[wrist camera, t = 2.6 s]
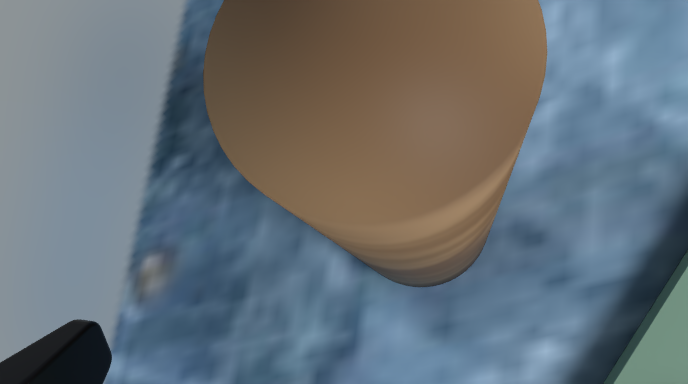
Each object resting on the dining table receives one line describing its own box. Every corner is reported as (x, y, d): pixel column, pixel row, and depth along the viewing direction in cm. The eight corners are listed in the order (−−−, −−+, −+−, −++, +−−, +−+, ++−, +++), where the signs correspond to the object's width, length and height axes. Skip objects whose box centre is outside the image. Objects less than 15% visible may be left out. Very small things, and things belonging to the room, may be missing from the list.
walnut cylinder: (439, 315, 19) (411, 298, 7) (327, 236, 21) (141, 107, 8) (516, 199, 20) (620, -11, 7) (401, 130, 21) (327, -142, 9)
